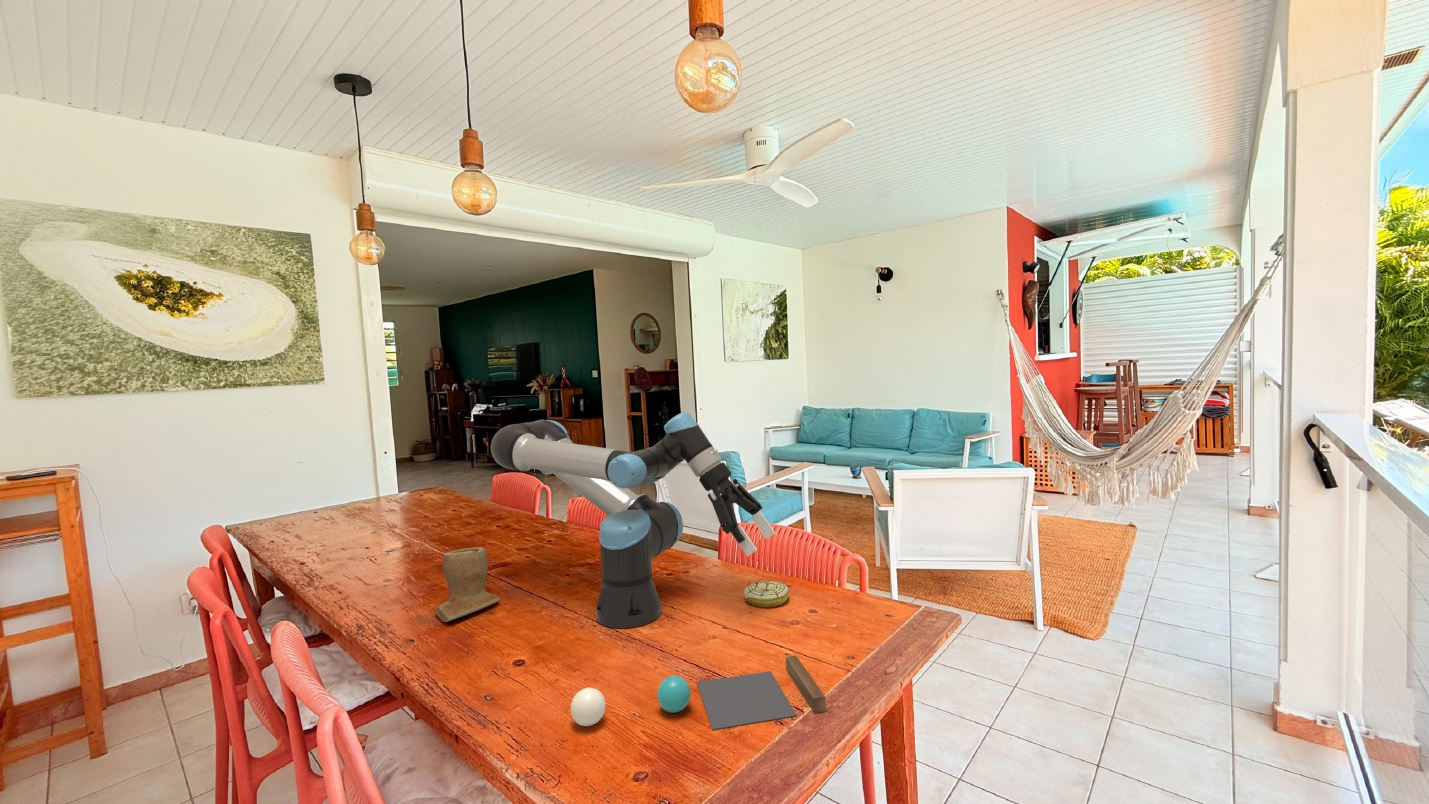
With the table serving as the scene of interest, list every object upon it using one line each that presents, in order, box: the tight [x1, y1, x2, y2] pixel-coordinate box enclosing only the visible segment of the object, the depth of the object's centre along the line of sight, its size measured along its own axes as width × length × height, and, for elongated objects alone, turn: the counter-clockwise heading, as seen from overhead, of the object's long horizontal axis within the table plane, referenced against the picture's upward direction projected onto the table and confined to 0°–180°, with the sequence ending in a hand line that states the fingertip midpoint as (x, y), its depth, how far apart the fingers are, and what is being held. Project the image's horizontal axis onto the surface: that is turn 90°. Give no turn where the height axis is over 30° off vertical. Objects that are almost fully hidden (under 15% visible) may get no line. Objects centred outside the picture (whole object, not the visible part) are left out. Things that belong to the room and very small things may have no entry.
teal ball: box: [657, 675, 691, 713], centre depth 95 cm, size 6×6×6 cm
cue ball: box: [570, 687, 606, 727], centre depth 92 cm, size 6×6×6 cm
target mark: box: [696, 670, 798, 731], centre depth 97 cm, size 14×14×1 cm
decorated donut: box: [743, 580, 789, 609], centre depth 138 cm, size 10×11×4 cm
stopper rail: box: [785, 654, 827, 714], centre depth 99 cm, size 2×14×2 cm, turn 12°
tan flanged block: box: [434, 547, 501, 623], centre depth 138 cm, size 15×12×15 cm
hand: (762, 544), depth 133 cm, fingers open, 13 cm apart
